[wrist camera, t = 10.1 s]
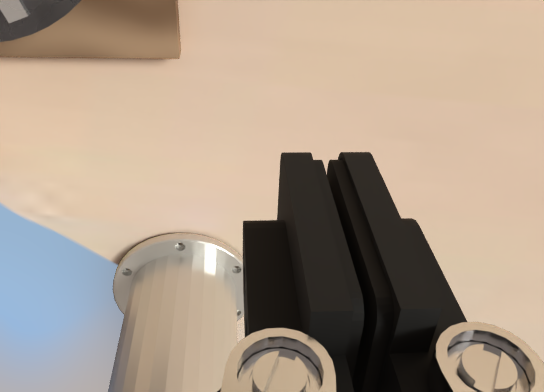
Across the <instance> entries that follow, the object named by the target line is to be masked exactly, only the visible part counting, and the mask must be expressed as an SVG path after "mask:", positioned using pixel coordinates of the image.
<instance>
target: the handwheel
mask: <svg viewBox="0 0 544 392" xmlns="http://www.w3.org/2000/svg"><path fill="white" fill-rule="evenodd" d="M80 1H81V0H0V42H4V41H11V40H15V39H18V38H22V37H25V36H29V35H32V34H34V33H36V32H38V31H40V30H42V29H45V28H47V27H49V26H50V25H52V24H53V23H55V22H56V21H58V20H59V19H61V18H62V17H64V16H65V15H66V14H68V13H69V12H70V11H71V10H72V9H73V8H74V7H75V6H76V5H77V4H78V3H79V2H80Z"/></svg>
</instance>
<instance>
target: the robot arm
mask: <svg viewBox="0 0 544 392" xmlns="http://www.w3.org/2000/svg"><path fill="white" fill-rule="evenodd" d="M113 293H114V298H115V301H116V303H117V305H118V307H119V309H120V310H121V311H122V313H123V314H124V320H123V324H122V329H121V334H120V339H119V343H118V348H117V352H116V357H115V362H114V367H113V371H112V376H111V380H110V385H109V389H108V392H544V362H543V361H542V360H541V359H540V357H539V356H538V355H537V354H536V353H535V352H534V351H533V350H532V349H531V348H530V347H529V346H528V345H527V344H526V343H525V342H524V341H523V340H521V339H520V338H518V337H517V336H515V335H514V334H512V333H511V332H509V331H506V330H504V329H502V328H499V327H497V326H495V325H491V324H486V323H481V322H467V320H466V318H465V316H464V314H463V312H462V310H461V308H460V306H459V304H458V302H457V300H456V298H455V296H454V294H453V292H452V290H451V288H450V286H449V284H448V282H447V280H446V278H445V276H444V274H443V272H442V270H441V268H440V266H439V264H438V262H437V260H436V258H435V256H434V254H433V252H432V250H431V248H430V246H429V244H428V242H427V240H426V238H425V236H424V234H423V232H422V230H421V228H420V226H419V225H418V223H417V222H416V220H414V219H401V217H400V215H399V213H398V211H397V209H396V206H395V204H394V202H393V200H392V198H391V195H390V193H389V191H388V189H387V187H386V185H385V182H384V180H383V178H382V176H381V174H380V172H379V169H378V167H377V165H376V163H375V161H374V159H373V156H372V155H371V153H369V152H341V153H340V154H339V157H338V160H330V161H329V163H328V169H327V175H326V171H325V168H324V165H323V162H322V160H313V158H312V154H311V153H282V154H281V160H280V178H279V196H278V215H277V220H271V221H243V258H242V257H241V256H240V254H239V253H237V252H236V251H235V250H234V249H232V248H231V247H230V246H228V245H226V244H224V243H222V242H221V241H219V240H216V239H213V238H210V237H207V236H203V235H198V234H192V233H174V234H166V235H161V236H157V237H154V238H150V239H148V240H146V241H144V242H142V243H140V244H138V245H137V246H135V247H134V248H133V249H131V250H130V251H129V252H128V253H127V254H126V255H125V256H124V257H123V258H122V260H121V261H120V263H119V265H118V267H117V269H116V273H115V277H114V281H113ZM243 315H244V324H245V338H244V339H242V340H241V341H239V343H238V342H237V321H238V320H239V319H240V318H242V317H243Z"/></svg>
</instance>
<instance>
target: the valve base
mask: <svg viewBox="0 0 544 392" xmlns="http://www.w3.org/2000/svg"><path fill="white" fill-rule="evenodd" d="M180 53H181V45H180V30H179V14H178V0H81V1H80V2H79V3H78V4H77V5H76V6H75V7H74V8H73V9H72V10H71V11H70V12H69V13H68V14H66V15H65V16H64V17H62V18H61V19H59V20H58V21H56V22H55V23H53V24H52V25H50V26H49V27H47V28H45V29H42V30H40V31H38V32H36V33H34V34H32V35H29V36H25V37H22V38H18V39H15V40H11V41H4V42H0V57H67V58H157V59H179V57H180Z"/></svg>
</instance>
